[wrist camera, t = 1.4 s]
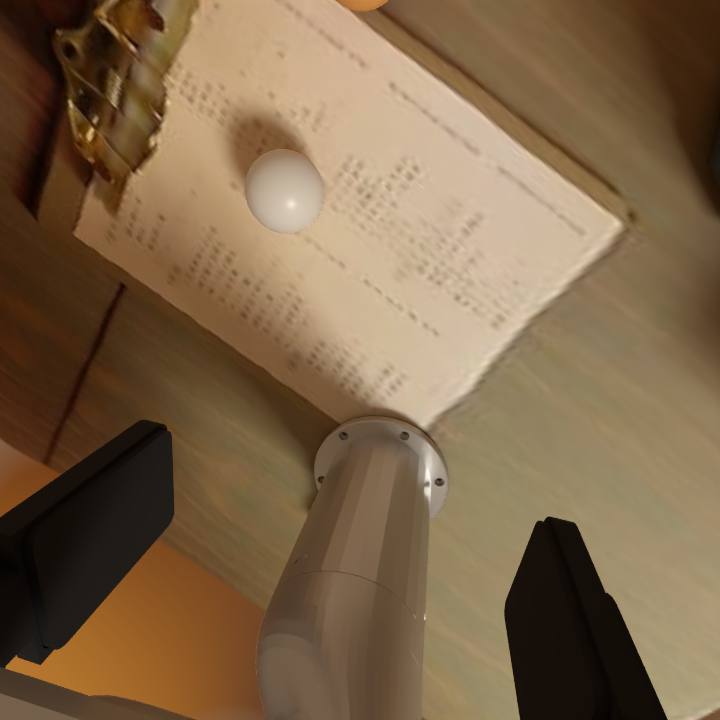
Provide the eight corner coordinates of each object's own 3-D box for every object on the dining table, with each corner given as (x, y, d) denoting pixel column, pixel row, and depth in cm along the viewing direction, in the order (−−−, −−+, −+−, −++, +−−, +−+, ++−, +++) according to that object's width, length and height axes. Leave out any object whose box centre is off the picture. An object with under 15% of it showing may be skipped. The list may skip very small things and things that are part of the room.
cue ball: (317, 242, 32) (294, 249, 27) (255, 213, 32) (221, 215, 27) (343, 172, 30) (323, 165, 25) (276, 141, 30) (243, 128, 25)
